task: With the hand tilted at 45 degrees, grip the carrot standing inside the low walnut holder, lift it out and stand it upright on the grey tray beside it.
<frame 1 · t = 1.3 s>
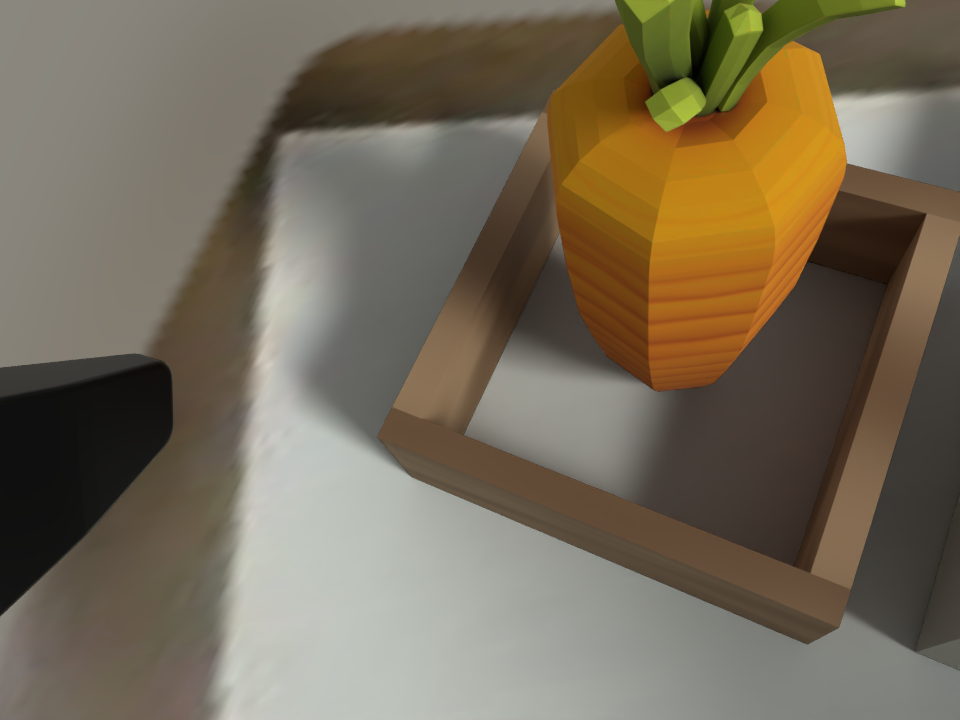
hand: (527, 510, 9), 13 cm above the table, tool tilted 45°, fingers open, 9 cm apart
walnut holder: (668, 372, 23), on the table
carrot: (668, 375, 24), on the table
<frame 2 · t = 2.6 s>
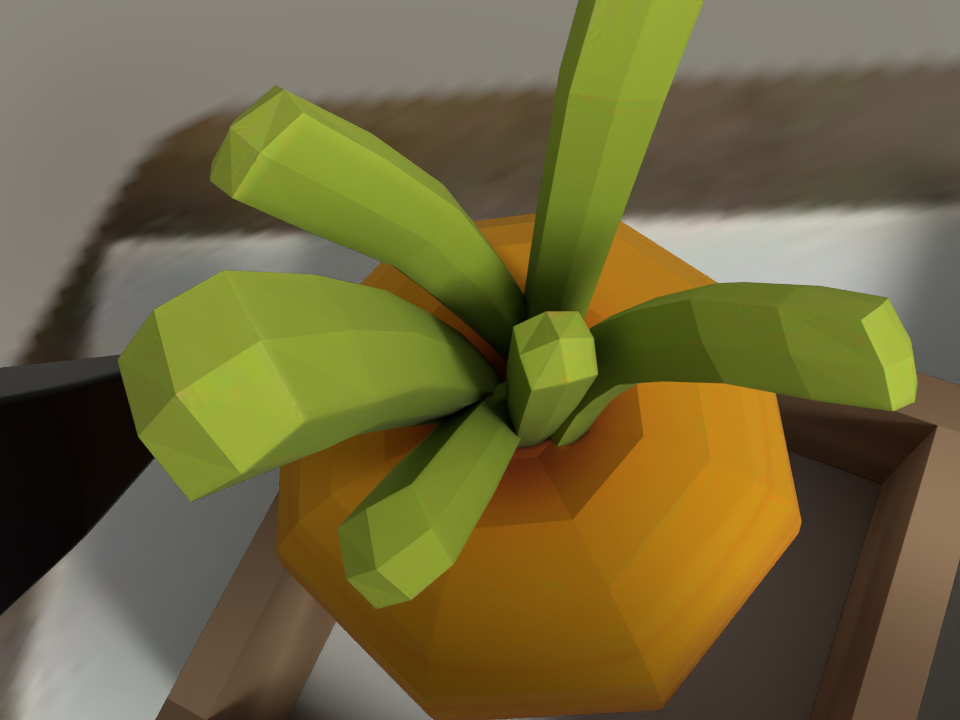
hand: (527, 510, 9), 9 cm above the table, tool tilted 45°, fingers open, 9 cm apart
walnut holder: (583, 604, 17), on the table
carrot: (583, 605, 17), on the table
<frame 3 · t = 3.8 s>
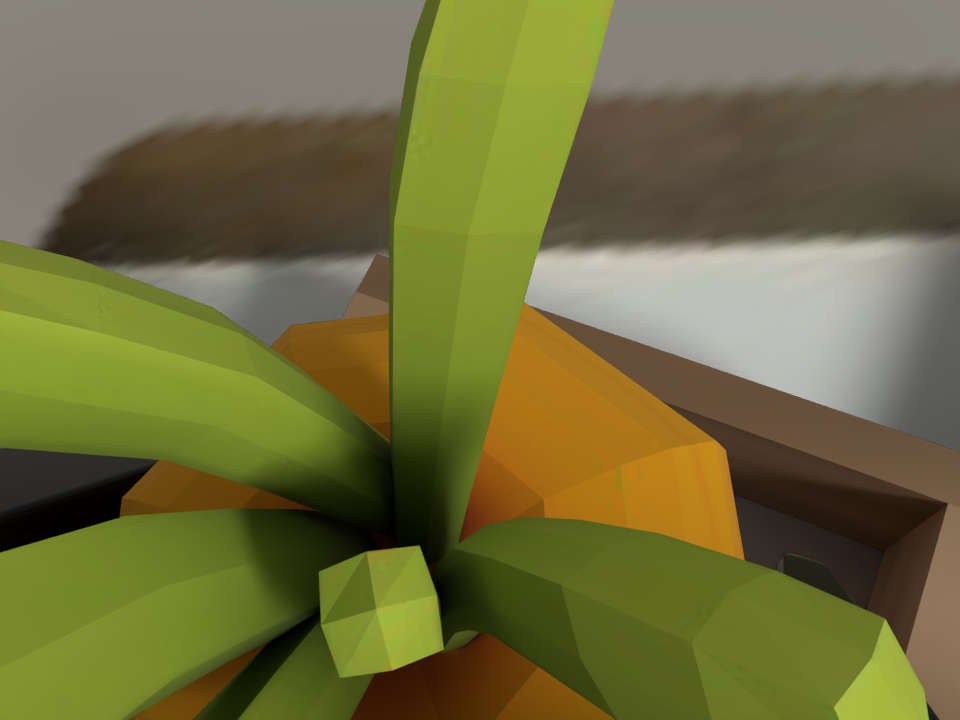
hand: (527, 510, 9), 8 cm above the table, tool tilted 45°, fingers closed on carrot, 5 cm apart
walnut holder: (551, 685, 15), on the table
carrot: (552, 685, 16), on the table, touching gripper
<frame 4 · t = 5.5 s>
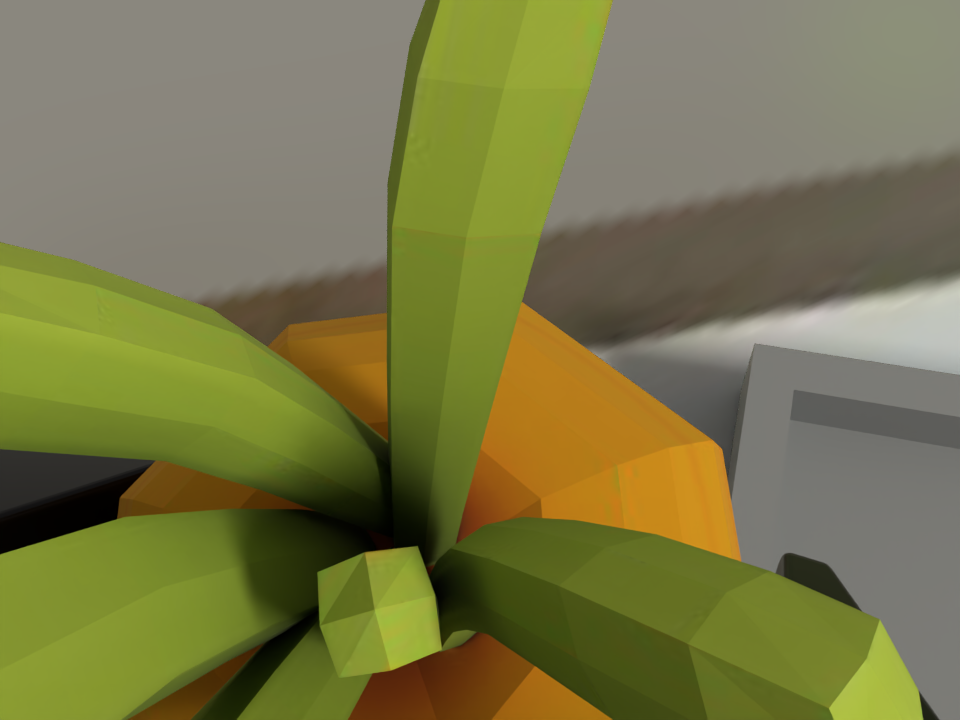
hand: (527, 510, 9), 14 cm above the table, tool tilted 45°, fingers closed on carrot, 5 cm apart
carrot: (549, 682, 16), point 6 cm above the table, touching gripper
when the fingers open (10 cm above the table, at t = 7.4 s): carrot drops 1 cm, resting on grey tray.
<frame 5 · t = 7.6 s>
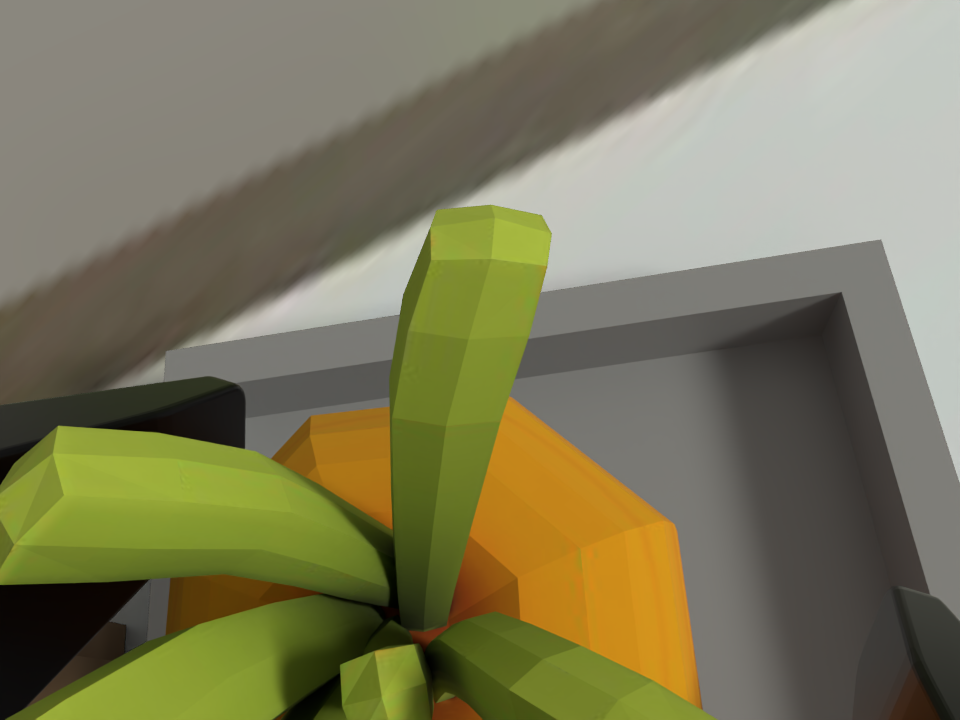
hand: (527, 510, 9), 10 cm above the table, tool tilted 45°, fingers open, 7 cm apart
carrot: (549, 695, 17), point 1 cm above the table, touching grey tray
grey tray: (562, 689, 18), on the table
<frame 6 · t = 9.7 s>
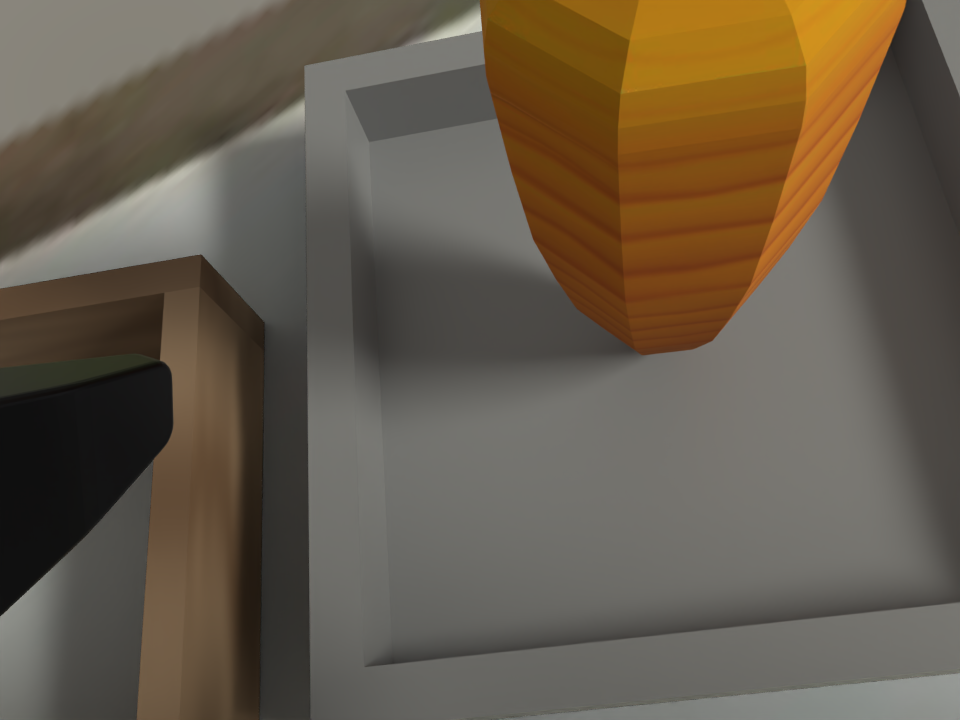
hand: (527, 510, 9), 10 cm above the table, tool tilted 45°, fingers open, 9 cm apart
walnut holder: (48, 556, 21), on the table
carrot: (656, 340, 19), point 1 cm above the table, touching grey tray
grey tray: (664, 347, 20), on the table
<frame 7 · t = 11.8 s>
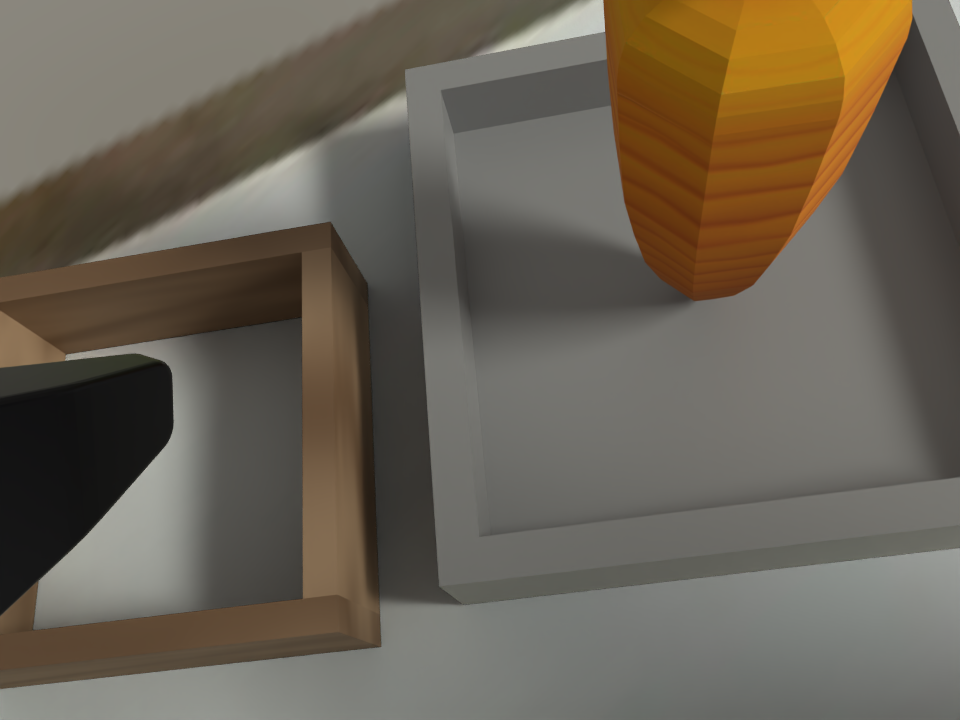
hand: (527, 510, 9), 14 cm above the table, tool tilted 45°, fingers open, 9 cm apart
walnut holder: (194, 473, 25), on the table
carrot: (699, 293, 24), point 1 cm above the table, touching grey tray
grey tray: (704, 301, 24), on the table
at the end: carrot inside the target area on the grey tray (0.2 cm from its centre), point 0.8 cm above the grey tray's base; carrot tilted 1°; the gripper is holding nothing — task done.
